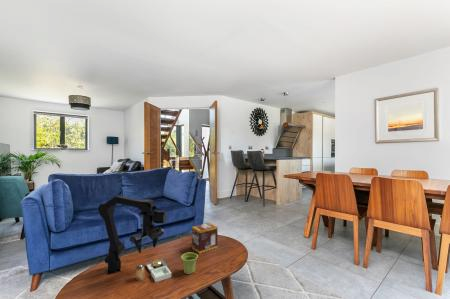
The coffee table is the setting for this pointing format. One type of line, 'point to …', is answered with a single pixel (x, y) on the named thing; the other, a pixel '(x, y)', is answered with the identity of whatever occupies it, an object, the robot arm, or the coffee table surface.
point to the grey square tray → (150, 267)
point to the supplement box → (204, 237)
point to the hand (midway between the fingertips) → (147, 250)
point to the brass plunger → (156, 263)
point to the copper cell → (140, 272)
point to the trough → (160, 273)
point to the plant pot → (189, 262)
